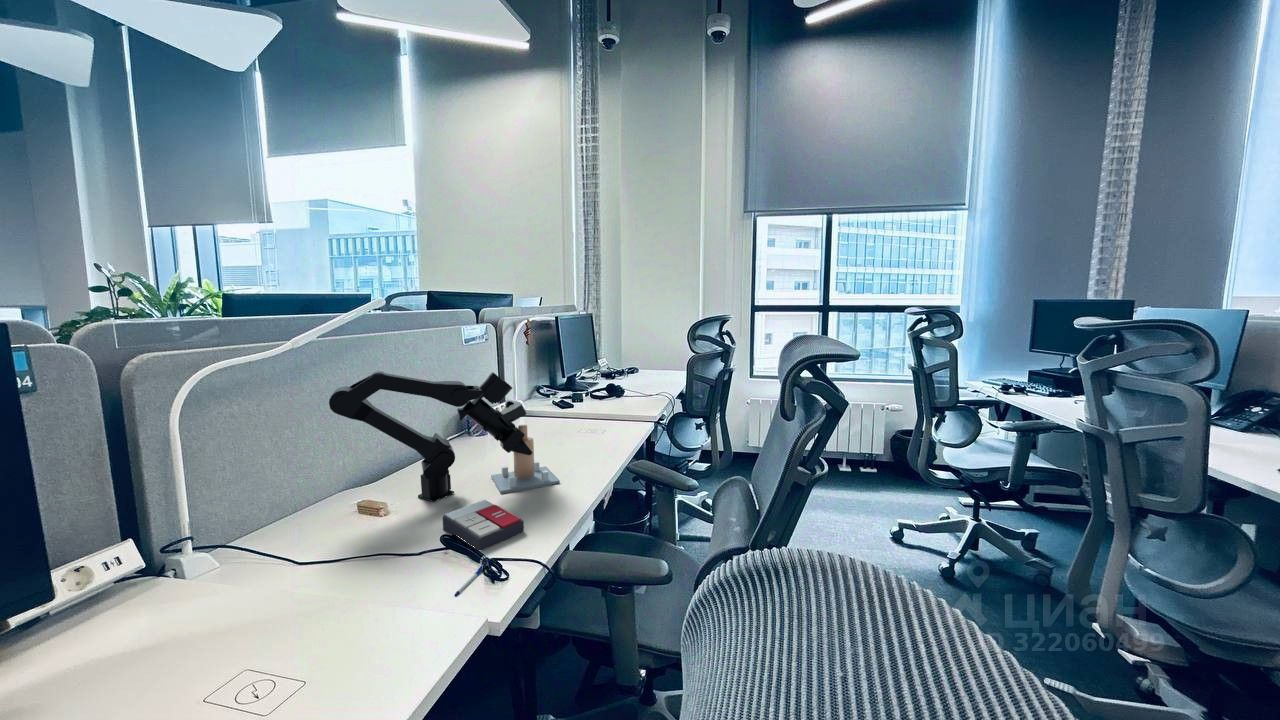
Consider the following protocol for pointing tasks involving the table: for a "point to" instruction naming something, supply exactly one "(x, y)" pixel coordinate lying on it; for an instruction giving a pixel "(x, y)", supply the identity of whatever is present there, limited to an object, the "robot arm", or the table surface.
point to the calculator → (482, 524)
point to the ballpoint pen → (469, 581)
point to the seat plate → (523, 479)
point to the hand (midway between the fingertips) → (528, 451)
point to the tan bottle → (524, 458)
